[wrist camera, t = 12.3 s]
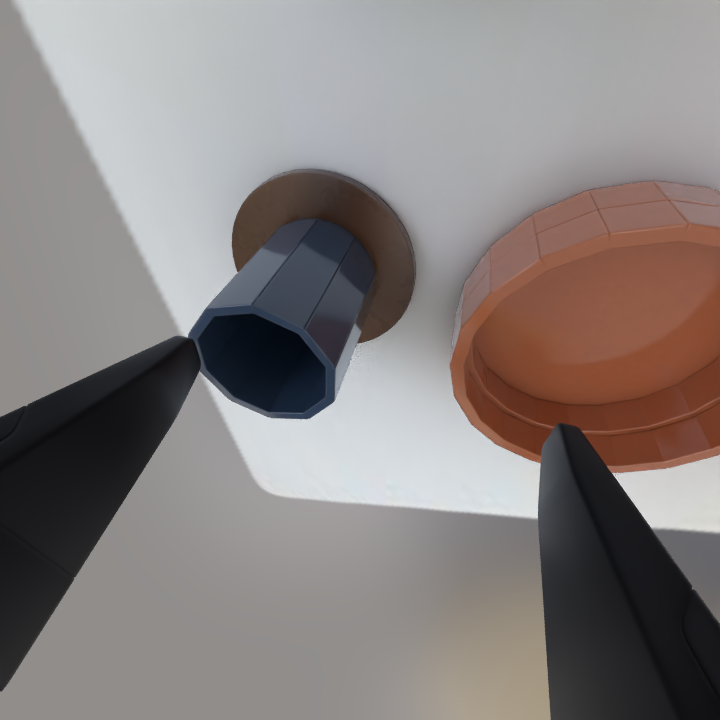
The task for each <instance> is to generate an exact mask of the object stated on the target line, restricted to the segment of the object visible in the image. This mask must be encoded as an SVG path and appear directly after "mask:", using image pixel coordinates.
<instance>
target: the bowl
mask: <svg viewBox="0 0 720 720" xmlns="http://www.w3.org/2000/svg"><path fill="white" fill-rule="evenodd" d="M450 370H451V378H452V385H453V393H454V396H455V399H456V400H457V402H458V404H459V405H460V407H461V408H462V410H463V412H464V413H465V415H466V417H467V418H468V420H469V421H470V423H471V424H472V425H473V426H474V427H475V428H477V429H478V430H479V431H480V432H482V433H483V434H484V435H485V436H486V437H488V438H489V439H490V440H491V441H493V442H494V443H495V444H496V445H498V446H500V447H502V448H505V449H507V450H509V451H511V452H513V453H516V454H518V455H520V456H522V457H524V458H526V459H529V460H531V461H534V462H539V463H541V452H542V447H543V444H544V442H545V440H546V439H547V437H548V436H549V434H550V433H551V431H552V430H553V428H554V427H555V425H556V424H558V423H566V424H570V425H574V426H577V427H578V428H580V429H581V431H582V432H583V433H584V435H585V436H586V438H587V439H588V440H589V442H590V443H591V445H592V446H593V447H594V449H595V450H596V452H597V453H598V454H599V456H600V457H601V459H602V460H603V461H604V463H605V464H606V466H607V467H608V468H609V470H610V471H611V473H623V472H634V471H645V470H656V469H666V468H667V467H668V468H671V467H675V466H679V465H683V464H687V463H691V462H695V461H699V460H703V459H707V458H710V457H714V456H718V455H720V192H719V191H717V190H714V189H712V188H704V187H697V186H690V185H683V184H676V183H668V182H661V181H645V182H638V183H632V184H625V185H619V186H612V187H605V188H599V189H592V190H589V191H585V192H582V193H580V194H578V195H575V196H573V197H571V198H568V199H566V200H564V201H561V202H559V203H556V204H554V205H552V206H549V207H547V208H545V209H542V210H540V211H538V212H535V213H533V215H531V216H529V217H528V218H527V219H525V220H524V221H523V222H521V223H520V224H519V225H518V226H516V227H515V228H514V229H512V230H511V231H510V232H509V233H507V234H506V235H505V236H503V237H502V238H501V239H500V240H498V241H497V242H496V243H494V244H493V245H492V246H491V247H490V248H489V249H488V250H487V252H486V253H485V255H484V256H483V257H482V259H481V260H480V262H479V263H478V264H477V266H476V267H475V269H474V270H473V271H472V273H471V274H470V276H469V277H468V278H467V280H466V282H465V283H464V287H463V290H462V294H461V297H460V301H459V304H458V308H457V311H456V315H455V323H454V332H453V341H452V350H451V359H450Z"/></svg>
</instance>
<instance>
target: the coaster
mask: <svg viewBox="0 0 720 720" xmlns="http://www.w3.org/2000/svg"><path fill="white" fill-rule="evenodd" d="M310 218H313V219H321V220H326V221H329V222H332V223H335V224H337V225H339V226H341V227H343V228H344V229H346V230H347V231H349V232H350V233H351V234H353V235H354V236H355V237H356V238H357V239H358V240H359V241H360V242H361V243H362V244H363V246H364V247H365V249H366V250H367V252H368V253H369V255H370V257H371V260H372V262H373V265H374V269H375V273H376V274H375V275H376V285H375V291H374V294H373V303H372V306H371V308H370V311H369V313H368V316H367V319H366V321H365V324H364V326H363V329H362V331H361V334H360V337H359V339H358V342H357V343H362V342H366V341H369V340H372V339H374V338H376V337H378V336H380V335H382V334H383V333H385V332H387V331H388V330H389V329H390V328H391V327H393V326H394V325H395V324H396V323H397V322H398V320H399V319H400V318H401V317H402V315H403V314H404V312H405V311H406V309H407V307H408V304H409V302H410V300H411V296H412V292H413V289H414V285H415V276H416V266H415V257H414V252H413V248H412V245H411V242H410V239H409V236H408V234H407V232H406V230H405V228H404V226H403V225H402V223H401V222H400V220H399V219H398V217H397V215H396V214H395V213H394V212H393V210H392V209H391V208H390V207H389V206H388V205H387V204H386V203H385V202H384V201H383V200H382V199H381V198H380V197H379V196H378V195H377V194H376V193H374V192H373V191H371V190H370V189H368V188H367V187H366V186H364V185H363V184H361V183H359V182H357V181H355V180H353V179H351V178H349V177H346V176H343V175H341V174H338V173H334V172H330V171H325V170H317V169H301V170H293V171H289V172H284V173H282V174H279V175H277V176H274V177H272V178H270V179H269V180H267V181H266V182H264V183H262V184H261V185H260V186H259V187H258V188H256V189H255V190H254V191H253V192H252V193H251V194H250V195H249V196H248V197H247V199H246V200H245V201H244V202H243V204H242V206H241V208H240V210H239V211H238V213H237V216H236V219H235V222H234V227H233V233H232V250H233V257H234V262H235V266H236V269H237V271H238V272H239V271H240V270H241V269H242V268H243V267H244V266H245V265H246V263H247V262H248V261H249V260H250V259H251V258H252V257H253V256H254V255H255V254H256V252H257V251H258V250H259V249H260V248H261V247H262V246H263V245H264V244H265V243H266V242H267V240H268V239H269V238H270V237H271V236H272V235H273V234H274V233H275V232H276V231H277V229H278V228H279V227H280V226H282V225H286V224H288V223H290V222H293V221H296V220H300V219H310Z"/></svg>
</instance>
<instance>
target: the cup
mask: <svg viewBox="0 0 720 720" xmlns="http://www.w3.org/2000/svg"><path fill="white" fill-rule="evenodd" d="M375 274H376V273H375V269H374V265H373V262H372V260H371V257H370V255H369V253H368V252H367V250H366V249H365V247H364V246H363V244H362V243H361V242H360V241H359V240H358V239H357V238H356V237H355V236H354V235H353V234H351V233H350V232H349V231H347V230H346V229H344V228H343V227H341V226H339V225H337V224H335V223H332V222H329V221H326V220H321V219H313V218H310V219H300V220H296V221H293V222H290V223H288V224H286V225H282V226H280V227H279V228H278V229H277V231H276V232H275V233H274V234H273V235H272V236H271V237H270V238H269V239H268V240H267V242H266V243H265V244H264V245H263V246H262V247H261V248H260V249H259V250H258V251H257V252H256V254H255V255H254V256H253V257H252V258H251V259H250V260H249V261H248V262H247V263H246V265H245V266H244V267H243V268H242V269H241V270H240V271H239V272H238V273H237V274H236V276H235V277H234V278H233V279H232V280H231V281H230V282H229V283H228V284H227V285H226V287H225V288H224V289H223V290H222V291H221V292H220V293H219V294H218V295H217V296H216V298H215V299H214V300H213V301H212V302H211V303H210V304H209V305H208V306H207V307H206V309H205V310H204V312H203V313H202V315H201V316H200V317H199V319H198V320H197V322H196V323H195V325H194V326H193V328H192V329H191V331H190V332H189V334H188V338H191V339H193V340H194V342H195V344H196V347H197V350H198V354H199V357H200V360H201V367H200V372H201V373H202V374H203V375H204V376H205V377H206V378H207V379H208V380H209V381H210V382H211V383H213V384H214V385H215V386H216V387H217V388H218V389H219V390H220V391H221V392H222V393H223V394H224V395H225V396H226V397H227V398H228V399H229V400H231V401H233V402H235V403H237V404H239V405H242V406H244V407H246V408H248V409H251V410H253V411H255V412H258V413H260V414H262V415H264V416H267V417H270V418H285V419H308V418H309V419H310V418H311V417H313V416H314V415H316V414H317V413H319V412H320V411H321V410H323V409H324V408H326V407H327V406H329V405H330V404H332V403H333V402H334V401H335V399H336V396H337V394H338V391H339V389H340V386H341V383H342V381H343V378H344V376H345V373H346V370H347V368H348V365H349V363H350V360H351V357H352V355H353V352H354V350H355V347H356V344H357V342H358V339H359V337H360V334H361V331H362V329H363V326H364V324H365V321H366V319H367V316H368V313H369V311H370V308H371V306H372V303H373V294H374V291H375V285H376V275H375Z"/></svg>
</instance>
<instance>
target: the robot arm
mask: <svg viewBox="0 0 720 720" xmlns="http://www.w3.org/2000/svg"><path fill="white" fill-rule="evenodd" d="M200 367H201V360H200V357H199V354H198V350H197V347H196V344H195V342H194V340H193V339H191V338H188V337H183V336H174V337H172V338H170V339H168V340H166V341H163V342H161V343H159V344H157V345H155V346H153V347H151V348H148V349H146V350H144V351H142V352H140V353H138V354H135V355H133V356H131V357H129V358H127V359H125V360H123V361H120V362H118V363H116V364H114V365H112V366H110V367H108V368H105V369H103V370H101V371H99V372H97V373H95V374H92V375H90V376H88V377H86V378H84V379H82V380H80V381H77V382H75V383H73V384H71V385H69V386H66V387H65V388H62V389H60V390H58V391H56V392H54V393H51V394H49V395H47V396H45V397H43V398H41V399H39V400H36V401H34V402H32V403H30V404H28V406H23V407H21V408H19V409H17V410H15V411H12V412H10V413H8V414H6V415H4V416H1V417H0V691H2V690H3V689H4V688H5V687H6V685H7V684H8V683H9V681H10V680H11V678H12V677H13V675H14V673H15V672H16V670H17V669H18V667H19V666H20V664H21V662H22V661H23V659H24V657H25V656H26V654H27V653H28V651H29V650H30V648H31V647H32V645H33V643H34V642H35V640H36V638H37V637H38V636H39V634H40V632H41V631H42V629H43V628H44V626H45V624H46V623H47V621H48V620H49V618H50V616H51V615H52V614H53V612H54V610H55V608H56V607H57V606H58V604H59V602H60V601H61V599H62V598H63V596H64V595H65V593H66V591H67V590H68V588H69V587H70V585H71V584H72V582H73V580H74V577H76V575H77V574H78V572H79V571H80V569H81V567H82V566H83V564H84V563H85V561H86V559H87V558H88V556H89V555H90V553H91V551H92V550H93V548H94V547H95V545H96V544H97V542H98V540H99V539H100V537H101V536H102V534H103V533H104V531H105V530H106V528H107V526H108V525H109V523H110V522H111V520H112V518H113V517H114V515H115V514H116V512H117V511H118V509H119V507H120V506H121V504H122V503H123V501H124V500H125V498H126V496H127V495H128V493H129V492H130V490H131V489H132V487H133V485H134V484H135V482H136V481H137V479H138V477H139V476H140V474H141V473H142V471H143V470H144V468H145V466H146V465H147V463H148V462H149V460H150V458H151V457H152V455H153V454H154V452H155V451H156V449H157V448H158V446H159V444H160V443H161V441H162V440H163V438H164V436H165V435H166V433H167V432H168V430H169V429H170V427H171V425H172V424H173V422H174V420H175V418H176V417H177V415H178V413H179V411H180V409H181V407H182V405H183V403H184V401H185V399H186V397H187V395H188V392H189V391H190V389H191V387H192V385H193V383H194V381H195V379H196V377H197V375H198V373H199V370H200ZM538 524H539V525H538V527H539V541H540V556H541V557H540V558H541V574H542V589H543V605H544V620H545V635H546V651H547V667H548V681H549V682H548V683H549V698H550V712H551V720H720V623H719V622H718V621H717V619H716V618H715V617H714V615H713V614H712V613H711V611H710V610H709V608H708V607H707V606H706V604H705V603H704V601H703V600H702V598H701V597H700V596H699V594H698V593H697V592H696V591H695V590H693V589H692V585H691V584H690V582H689V581H688V579H687V578H686V577H685V575H684V574H683V572H682V571H681V569H680V568H679V567H678V565H677V564H676V562H675V561H674V560H673V558H672V557H671V555H670V554H669V553H668V551H667V550H666V548H665V547H664V546H663V544H662V543H661V541H660V540H659V539H658V537H657V536H656V535H655V533H654V532H653V530H652V529H651V527H650V526H649V524H648V523H647V522H646V520H645V519H644V517H643V516H642V515H641V513H640V512H639V510H638V509H637V508H636V506H635V505H634V503H633V502H632V501H631V499H630V498H629V496H628V495H627V494H626V492H625V491H624V489H623V488H622V487H621V485H620V484H619V482H618V481H617V480H616V478H615V477H614V475H613V474H612V473H611V471H610V470H609V468H608V467H607V466H606V464H605V463H604V461H603V460H602V459H601V457H600V456H599V454H598V453H597V452H596V450H595V449H594V447H593V446H592V445H591V443H590V442H589V440H588V439H587V438H586V436H585V435H584V433H583V432H582V431H581V429H580V428H578V427H577V426H574V425H570V424H566V423H558V424H556V425H555V427H554V428H553V430H552V431H551V433H550V434H549V436H548V437H547V439H546V440H545V442H544V444H543V447H542V452H541V468H540V484H539V501H538Z"/></svg>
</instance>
